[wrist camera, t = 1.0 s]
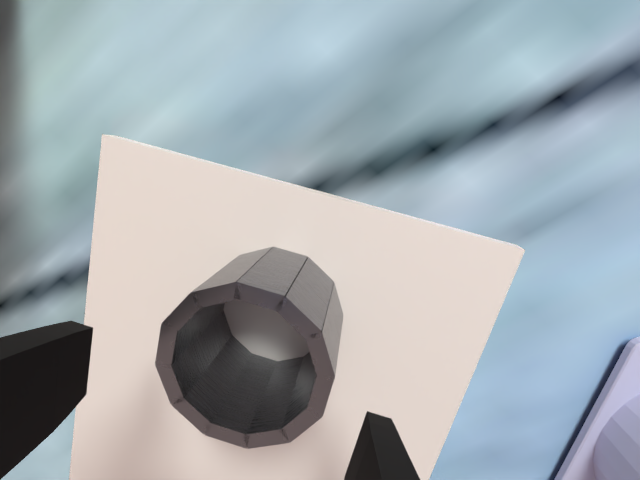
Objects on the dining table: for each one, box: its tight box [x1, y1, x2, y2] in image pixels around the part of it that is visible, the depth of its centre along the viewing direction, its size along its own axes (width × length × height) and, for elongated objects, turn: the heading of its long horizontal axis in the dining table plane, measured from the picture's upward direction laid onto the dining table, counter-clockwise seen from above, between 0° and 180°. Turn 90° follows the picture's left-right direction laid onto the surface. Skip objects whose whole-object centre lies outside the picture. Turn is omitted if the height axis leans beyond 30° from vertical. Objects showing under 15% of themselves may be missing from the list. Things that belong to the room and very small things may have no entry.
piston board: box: [69, 134, 525, 480], centre depth 15 cm, size 16×24×3 cm, turn 165°
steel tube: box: [155, 247, 343, 449], centre depth 12 cm, size 5×5×4 cm
